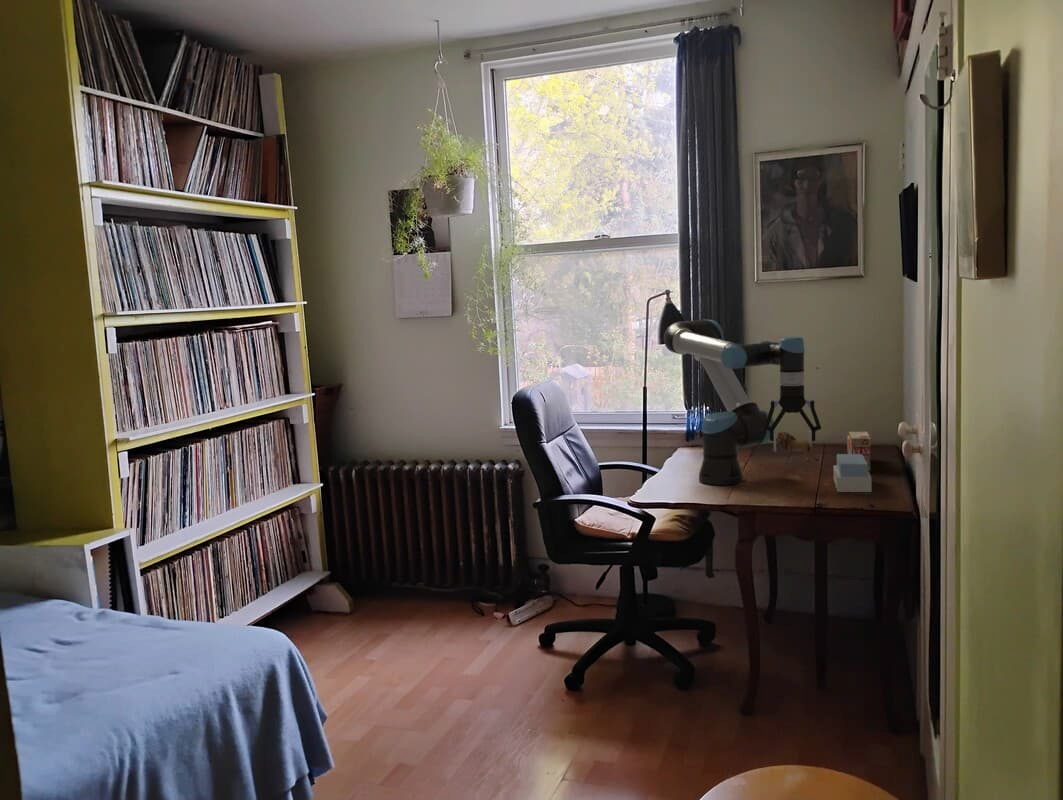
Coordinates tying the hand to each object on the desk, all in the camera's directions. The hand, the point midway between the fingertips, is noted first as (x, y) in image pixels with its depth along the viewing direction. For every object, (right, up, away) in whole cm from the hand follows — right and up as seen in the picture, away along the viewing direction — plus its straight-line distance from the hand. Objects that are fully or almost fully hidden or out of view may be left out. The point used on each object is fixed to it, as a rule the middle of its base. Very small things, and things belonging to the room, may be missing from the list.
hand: (792, 450), depth 279 cm
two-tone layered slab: (+18, -11, -4) cm, 22 cm away
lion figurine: (+1, -3, 0) cm, 3 cm away
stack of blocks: (+32, -7, +25) cm, 41 cm away
